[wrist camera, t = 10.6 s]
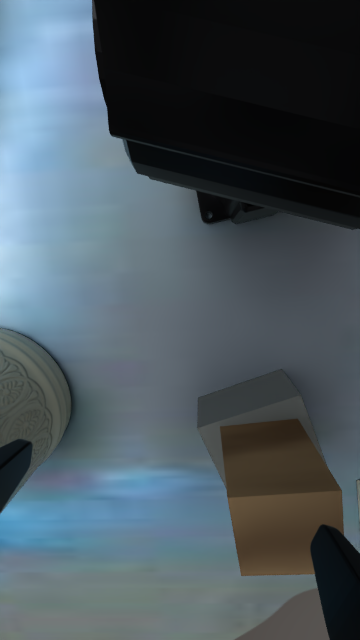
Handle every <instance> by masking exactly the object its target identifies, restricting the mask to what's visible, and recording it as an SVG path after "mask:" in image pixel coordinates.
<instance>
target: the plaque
mask: <svg viewBox="0 0 360 640" xmlns="http://www.w3.org/2000/svg"><path fill="white" fill-rule="evenodd" d="M357 493H358V507H359V520H360V480H357Z"/></svg>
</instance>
